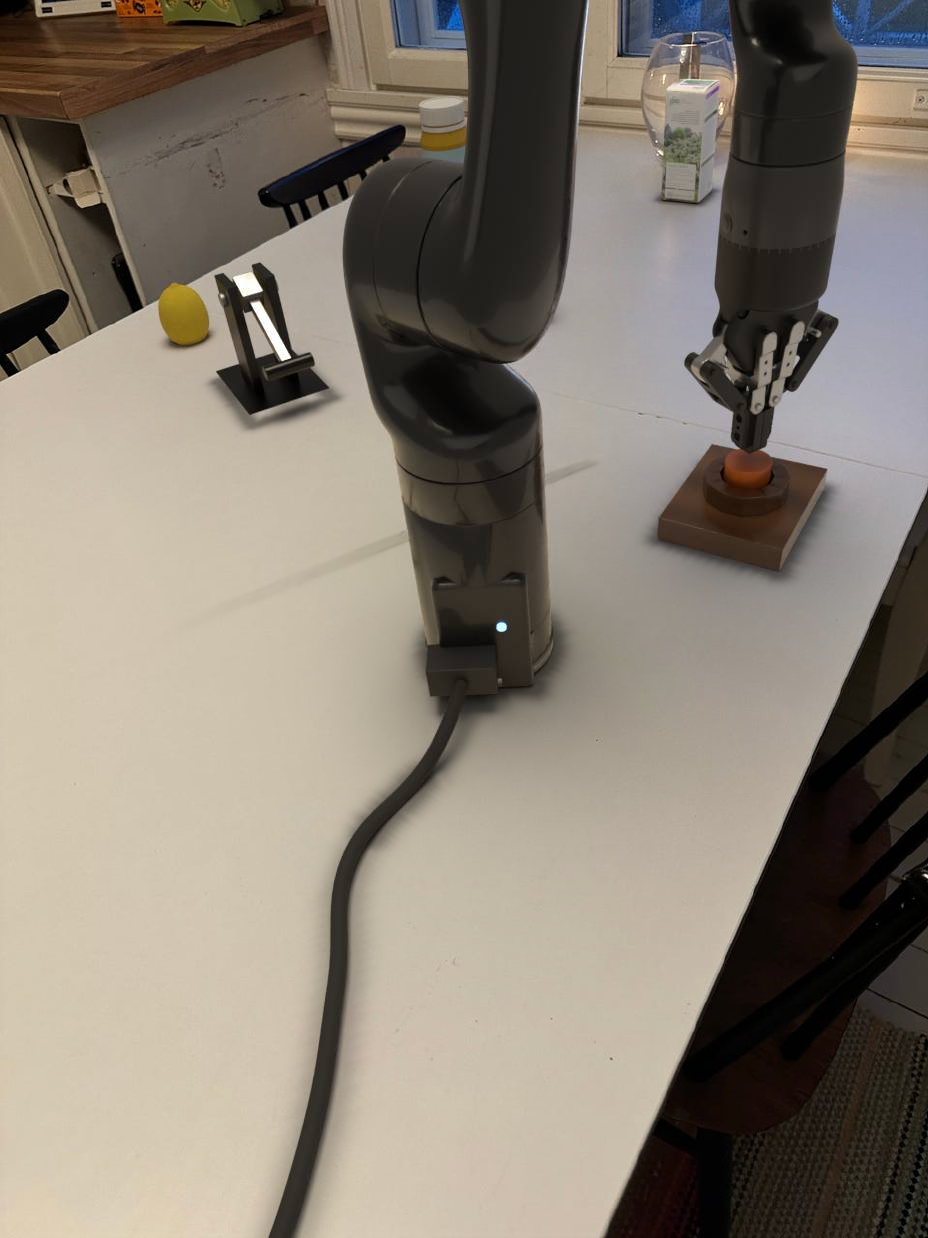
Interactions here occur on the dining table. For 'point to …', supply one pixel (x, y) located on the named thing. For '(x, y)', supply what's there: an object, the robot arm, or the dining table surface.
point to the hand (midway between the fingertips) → (749, 446)
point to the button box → (742, 511)
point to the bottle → (443, 129)
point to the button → (747, 469)
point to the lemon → (183, 315)
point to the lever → (269, 329)
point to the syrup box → (689, 139)
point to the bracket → (248, 373)
